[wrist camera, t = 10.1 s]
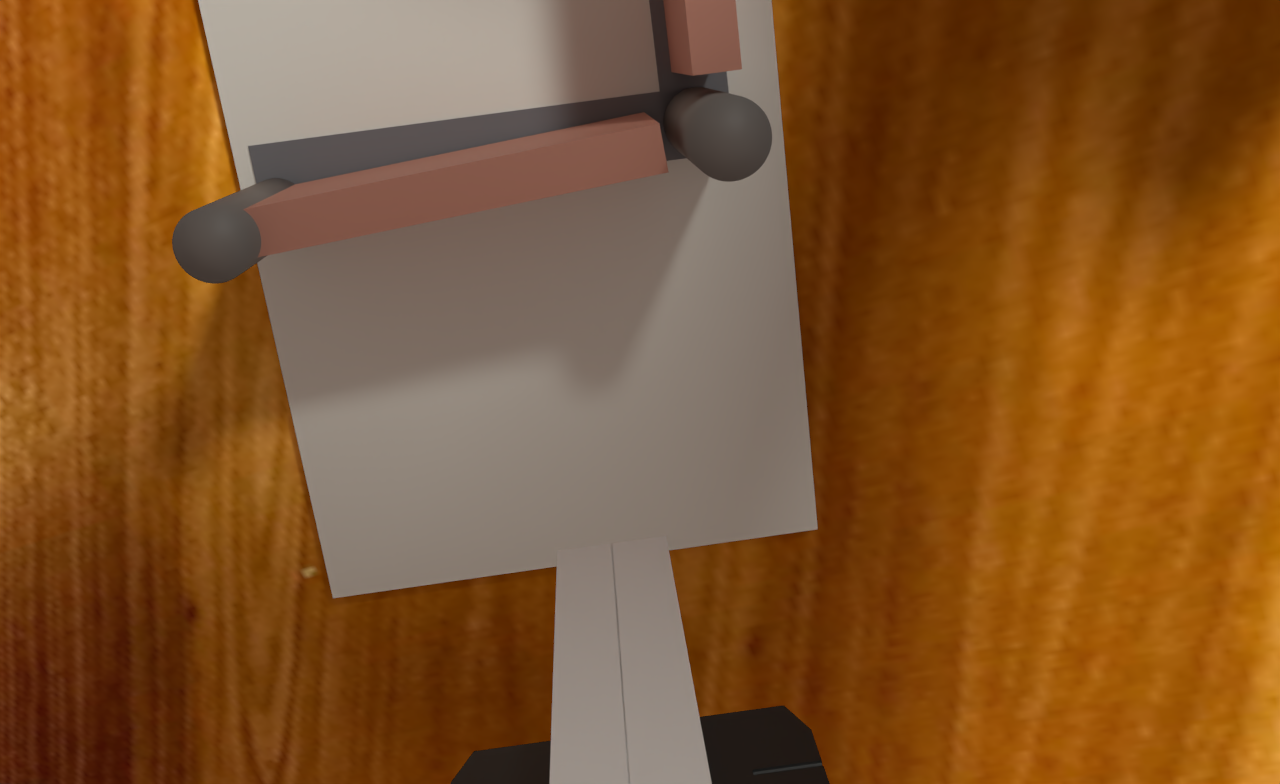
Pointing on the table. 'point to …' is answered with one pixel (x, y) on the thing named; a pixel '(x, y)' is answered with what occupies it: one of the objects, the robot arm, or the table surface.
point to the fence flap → (412, 193)
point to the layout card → (520, 292)
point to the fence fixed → (712, 93)
